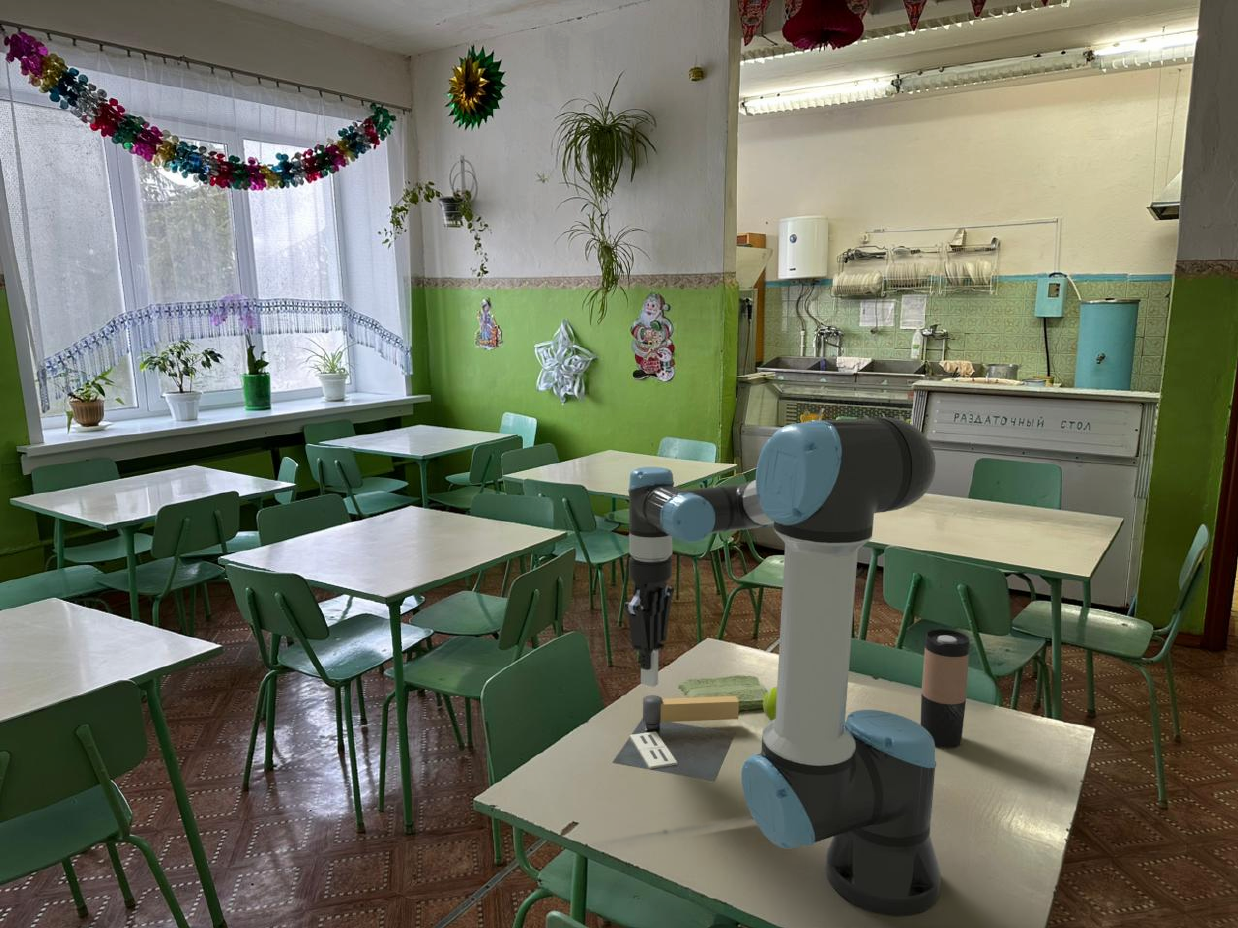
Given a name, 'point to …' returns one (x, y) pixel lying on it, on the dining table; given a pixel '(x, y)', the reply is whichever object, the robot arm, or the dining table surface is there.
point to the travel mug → (944, 686)
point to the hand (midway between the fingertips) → (649, 683)
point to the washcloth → (728, 689)
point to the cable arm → (689, 709)
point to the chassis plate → (683, 749)
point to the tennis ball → (770, 703)
